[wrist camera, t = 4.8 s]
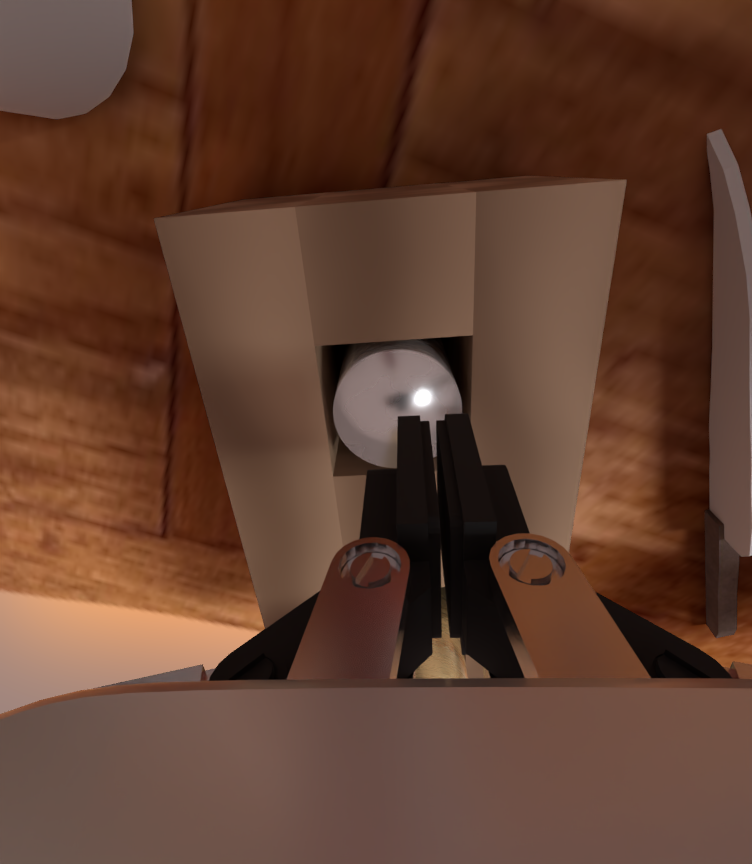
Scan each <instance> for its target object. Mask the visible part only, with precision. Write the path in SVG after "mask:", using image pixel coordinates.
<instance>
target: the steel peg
mask: <svg viewBox="0 0 752 864" xmlns="http://www.w3.org/2000/svg"><path fill="white" fill-rule="evenodd" d="M460 413H462V401H461V396H460V393H459V390H458V387H457V384H456V381H455V378H454V375H453V372H452V369H451V366H450V363H449V361H448V358H447V355H446V352H445V349H444V346H443V343H442V340H441V338H426V339H411V340H396V341H382V342H367V343H352V344H346V347H345V351H344V356H343V361H342V366H341V370H340V375H339V380H338V385H337V389H336V394H335V399H334V404H333V418H334V423H335V427H336V430H337V432H338V434H339V436H340V438H341V440H342V441H343V442H344V444H345V445H346V446H347V447H348V448H349V449H350V451H352V452H353V453H354V454H355V455H356V456H358V457H360V458H361V459H363V460H365V461H367V462H369V463H371V464H374V465H377V466H382V467H387V468H397V427H398V416H416V415H420V421H429V423H430V433H431V442H432V451H433V458H434V457H436V456H437V452H436V420H444V418H445V414H460Z"/></svg>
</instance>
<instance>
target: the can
mask: <svg viewBox="0 0 752 864" xmlns="http://www.w3.org/2000/svg"><path fill="white" fill-rule="evenodd" d="M133 34H134V30H133V14H132V0H0V111H6V112H12V113H19V114H25V115H31V116H38V117H44V118H51V119H62V118H67V117H72V116H77V115H82V114H86V113H88V112H89V111H90V110H92V109H93V108H95V107H96V106H97V105H99V104H100V103H102V102H103V101H104V100H106V99H107V98H109V97H110V95H111V93H112V92H113V90H114V88H115V87H116V85H117V84H118V82H119V80H120V79H121V77H122V75H123V74H124V72H125V70H126V67H127V62H128V58H129V53H130V48H131V43H132V39H133Z"/></svg>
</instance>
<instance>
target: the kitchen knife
mask: <svg viewBox="0 0 752 864" xmlns="http://www.w3.org/2000/svg"><path fill="white" fill-rule="evenodd" d="M707 156H708V162H709V168H710V178H711V187H712V197H713V207H714V243H713V322H712V366H711V392H710V413H709V442H710V466H709V493H710V509H709V510H705V576H706V624H707V626H708V627H709V629H710V630H711V631H712V633H713V634H714V636H715V637H716V638H718V637H724V636H729V635H734V633H735V631H736V630H737V586H738V573H739V555H740V556H741V557H746V556H752V217H751V211H750V207H749V203H748V199H747V195H746V192H745V188H744V184H743V180H742V177H741V173H740V169H739V165H738V163H737V161H736V159H735V157H734V154H733V152H732V150H731V148H730V146H729V144H728V142H727V140H726V137H725V135H724V133H723V131H722V129H720V130H717V131H714V132H711V133H708V134H707Z"/></svg>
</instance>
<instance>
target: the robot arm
mask: <svg viewBox="0 0 752 864" xmlns="http://www.w3.org/2000/svg"><path fill="white" fill-rule="evenodd" d="M436 452H437V488H436V479H435V469H434V460H433V451H432V442H431V433H430V423H429V421H420V415H416V416H398V427H397V469H373V470H367V475H366V484H365V493H364V502H363V511H362V520H361V529H360V538H359V539H358V540H354V541H352V542H350V543H348V544H346V545H344V546H343V547H342V548H341V549H340V550H339V551H338V552H337V553H336V554H335V556H334V558H333V559H332V561H331V563H330V566H329V569H328V571H327V574H326V577H325V579H324V582H323V585H322V587H321V590H320V591H319V592H317V593H316V594H314V595H313V596H312V597H310V598H309V599H307V600H306V601H304V602H303V603H302V604H300V605H299V606H297V607H296V608H294V609H293V610H292V611H290V612H289V613H287V614H286V615H284V616H283V617H282V618H280V619H279V620H277V621H276V622H274V623H273V624H272V625H270V626H269V627H267V628H266V629H264V630H263V631H262V632H260V633H259V634H257V635H256V636H255V637H253V638H252V639H250V640H249V641H248V642H246V643H245V644H243V645H242V646H240V647H239V648H237V649H236V650H234V651H233V652H232V653H230V654H229V655H228V656H227V657H226V658H225V659H223V661H221V662H220V663H219V664H218V666H217V667H216V668H215V669H210V670H206V671H205V669H204V667H203V665H198V666H193V667H189V668H184V669H180V670H175V671H170V672H166V673H162V674H157V675H153V676H148V677H143V678H139V679H134V680H130V681H125V682H120V683H116V684H112V685H107V686H102V687H98V688H93V689H88V690H81V691H76V692H72V693H68V694H64V695H60V696H55V697H51V698H47V699H43V700H39V701H37V702H34V703H31V704H28V705H25V706H22V707H20V708H17V709H14V710H11V711H8V712H5V713H2V714H0V864H752V665H751V664H745V663H740V662H734V661H733V662H732V665H731V667H730V668H727V667H722V666H721V665H720V664H719V663H718V662H717V661H716V660H715V659H713V658H712V657H710V656H709V655H707V654H706V653H704V652H703V651H701V650H700V649H698V648H696V647H695V646H693V645H691V644H689V643H687V642H685V641H684V640H682V639H680V638H678V637H676V636H675V635H673V634H671V633H669V632H667V631H665V630H664V629H662V628H660V627H658V626H656V625H655V624H653V623H651V622H649V621H647V620H646V619H644V618H642V617H640V616H638V615H636V614H635V613H633V612H631V611H629V610H627V609H626V608H624V607H622V606H620V605H618V604H616V603H615V602H613V601H611V600H609V599H607V598H606V597H604V596H602V595H600V594H598V593H596V592H595V591H594V590H593V588H592V587H591V585H590V584H589V582H588V581H587V579H586V577H585V576H584V574H583V573H582V571H581V570H580V568H579V567H578V565H577V564H576V562H575V561H574V559H573V558H572V556H571V555H570V554H569V553H568V551H567V550H566V549H565V548H564V547H563V546H561V545H560V544H558V543H557V542H555V541H554V540H551V539H549V538H546V537H544V536H541V535H535V534H530V532H529V530H528V527H527V524H526V521H525V518H524V515H523V512H522V509H521V507H520V504H519V501H518V498H517V495H516V492H515V489H514V486H513V483H512V481H511V478H510V475H509V472H508V469H507V467H506V465H482V463H481V459H480V456H479V452H478V448H477V444H476V441H475V437H474V433H473V429H472V426H471V422H470V418H469V415H468V413H460V414H445V418H444V420H436ZM441 556H442V566H443V576H444V585H445V595H446V605H447V615H448V624H449V634H450V638H460V644H461V652H462V655H469V656H470V657H471V658H472V659H474V660H475V661H476V662H478V663H479V664H480V665H481V666H483V675H484V678H430V679H416V669H417V668H418V667H419V666H420V665H421V664H422V663H423V662H425V661H426V660H427V659H428V658H429V657H430V656H431V655H432V654H433V646H432V638H442V613H441Z"/></svg>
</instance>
